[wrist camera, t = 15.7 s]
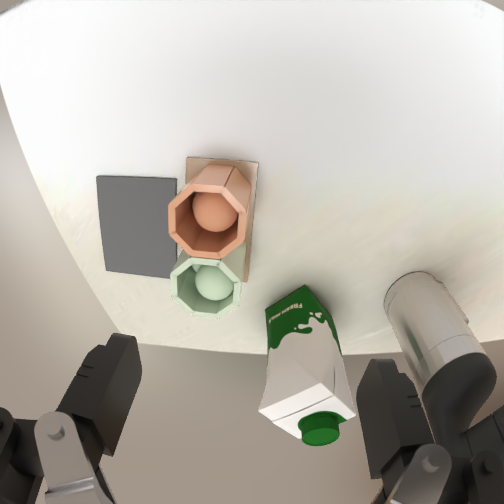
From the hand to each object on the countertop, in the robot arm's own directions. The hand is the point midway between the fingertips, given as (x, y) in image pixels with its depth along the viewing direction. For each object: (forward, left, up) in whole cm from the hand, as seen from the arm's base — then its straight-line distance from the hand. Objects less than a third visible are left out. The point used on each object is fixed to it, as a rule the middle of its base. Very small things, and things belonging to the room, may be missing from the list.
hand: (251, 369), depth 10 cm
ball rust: (+6, +4, -24) cm, 25 cm away
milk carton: (-7, +20, -30) cm, 37 cm away
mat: (+16, +9, -30) cm, 35 cm away
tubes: (+5, +7, -30) cm, 31 cm away
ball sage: (+6, +11, -24) cm, 27 cm away
